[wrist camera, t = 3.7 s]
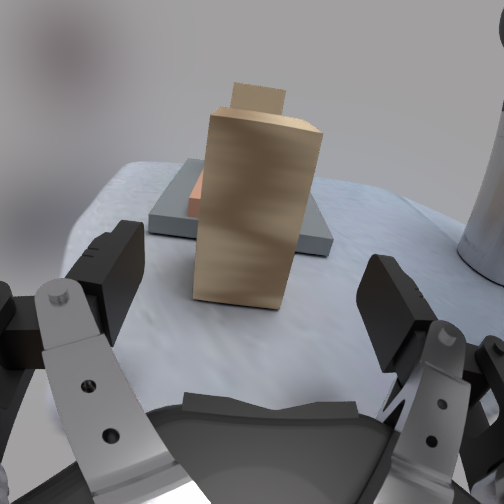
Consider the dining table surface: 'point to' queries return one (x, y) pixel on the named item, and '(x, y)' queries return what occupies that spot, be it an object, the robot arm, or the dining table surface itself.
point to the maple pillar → (252, 205)
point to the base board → (191, 175)
